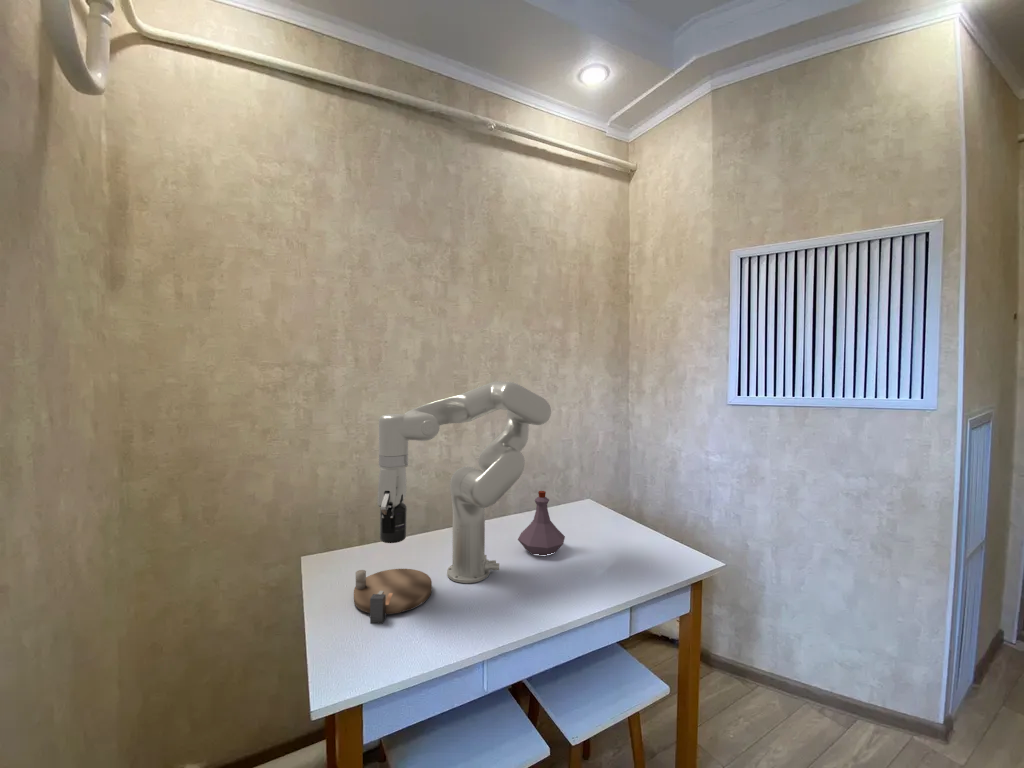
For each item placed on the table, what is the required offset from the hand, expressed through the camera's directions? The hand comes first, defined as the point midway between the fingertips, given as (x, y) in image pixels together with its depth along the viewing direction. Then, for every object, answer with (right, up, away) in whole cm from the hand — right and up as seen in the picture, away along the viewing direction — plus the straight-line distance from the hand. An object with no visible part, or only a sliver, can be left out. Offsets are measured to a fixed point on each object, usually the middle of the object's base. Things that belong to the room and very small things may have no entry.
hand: (393, 527), depth 114 cm
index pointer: (-1, -19, -11) cm, 22 cm away
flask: (+41, -18, +30) cm, 55 cm away
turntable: (0, -19, 0) cm, 19 cm away
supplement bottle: (0, -3, 0) cm, 3 cm away
